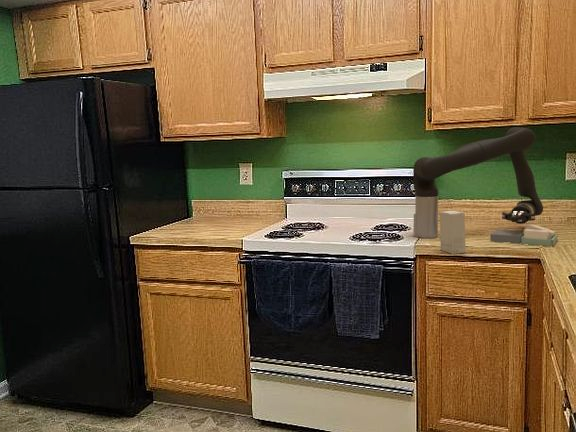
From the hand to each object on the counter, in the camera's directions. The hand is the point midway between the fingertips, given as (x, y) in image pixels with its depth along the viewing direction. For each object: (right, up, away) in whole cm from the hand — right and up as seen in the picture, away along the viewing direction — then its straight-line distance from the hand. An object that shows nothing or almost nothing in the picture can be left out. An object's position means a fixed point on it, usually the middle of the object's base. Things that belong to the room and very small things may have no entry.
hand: (513, 219), depth 201 cm
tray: (+10, -9, +1) cm, 13 cm away
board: (+1, -8, +7) cm, 11 cm away
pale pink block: (+4, -6, 0) cm, 8 cm away
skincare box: (-27, -12, -9) cm, 31 cm away
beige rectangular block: (+7, -3, +5) cm, 9 cm away
